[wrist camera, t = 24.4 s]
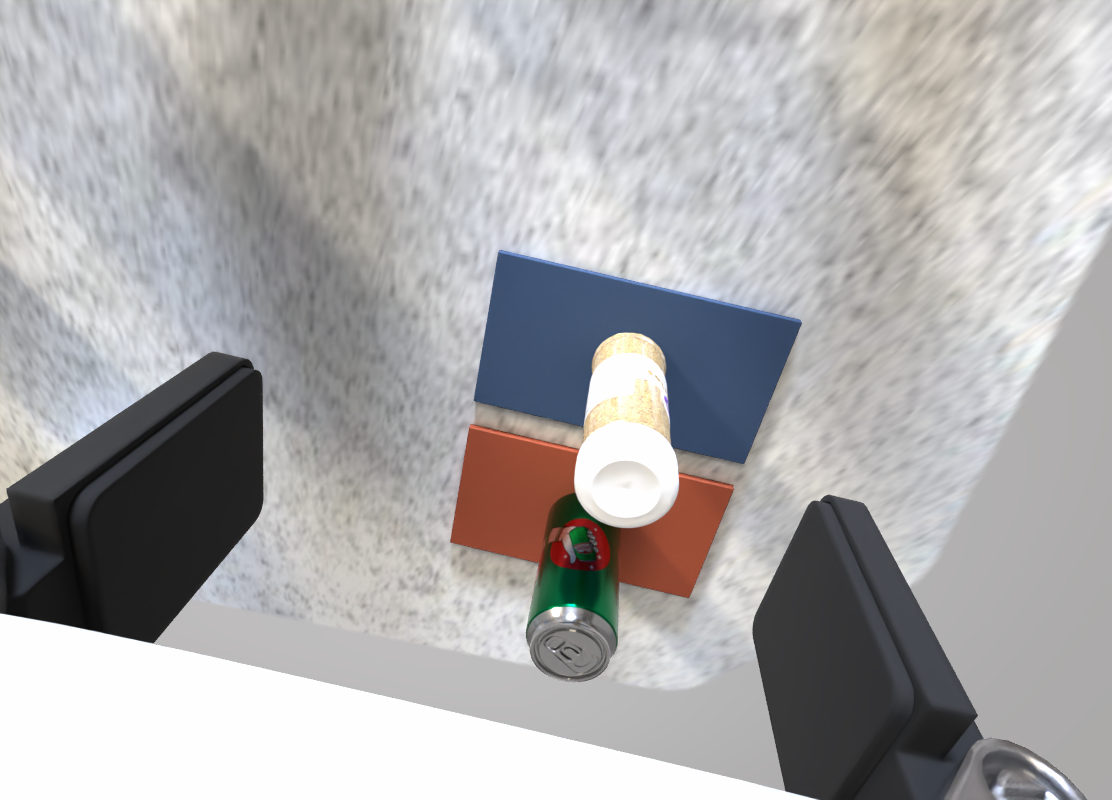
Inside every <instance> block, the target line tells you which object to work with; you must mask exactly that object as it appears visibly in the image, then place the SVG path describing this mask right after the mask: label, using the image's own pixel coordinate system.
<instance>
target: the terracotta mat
mask: <svg viewBox="0 0 1112 800" xmlns="http://www.w3.org/2000/svg"><path fill="white" fill-rule="evenodd" d="M579 450H580V449H575V448H571V447H567V446H563V445H558V444H554V443H550V442H545V441H541V440H537V439H533V438H528V437H524V436H520V435H515V434H511V433H507V432H503V431H498V430H494V429H490V428H485V427H481V426H477V425H472V424H471V425H470V427H469V432H468V438H467V444H466V450H465V456H464V462H463V468H462V474H461V480H460V486H459V492H458V498H457V505H456V511H455V517H454V523H453V529H452V535H451V541H450V542H451V543H455V544H460V545H464V546H468V547H472V548H477V549H481V550H485V551H490V552H494V553H498V554H502V555H507V556H511V557H515V558H520V559H524V560H528V561H532V562H537V563H539V560H540V555H541V549H542V544H543V539H544V533H545V528H546V523H547V518H548V513H549V511H550V509H551V507H552V505H553V504H554V503H555V502H556V501H557V500H558V499H560V498H562V497H563V496H565V495H568V494H571V493H576V492H575V486H574V477H575V467H576V461H577V456H578V453H579ZM678 474H679V490H678V495H677V498H676V500H675V502H674V504H673V506H672V507H671V508H670V510H669V511H668V512H667V513H666V514H665V515H664V516H663V517H661V518H660V519H658V520H657V521H655V522H653V523H651V524H648V525H645V526H641V527H636V528H621V531H620V569H619V582H623V583H627V584H631V585H635V586H640V587H644V588H648V589H653V590H657V591H661V592H665V593H670V594H674V595H678V596H683V597H687V598H689V597H690V595H691V592H692V590H693V587H694V585H695V583H696V580H697V578H698V575H699V573H700V570H701V568H702V566H703V563H704V561H705V558H706V556H707V553H708V551H709V548H710V546H711V544H712V541H713V539H714V536H715V534H716V531H717V529H718V527H719V524H720V522H721V519H722V517H723V514H724V512H725V509H726V507H727V505H728V502H729V500H730V497H731V495H732V492H733V490H734V488H733V485H730V484H725V483H721V482H717V481H713V480H708V479H704V478H700V477H695V476H691V475H687V474H683V473H678Z"/></svg>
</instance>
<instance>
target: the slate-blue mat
mask: <svg viewBox="0 0 1112 800" xmlns="http://www.w3.org/2000/svg"><path fill="white" fill-rule="evenodd" d="M801 324H802V322H801V321H800V320H798V319H794V318H789V317H785V316H781V315H777V314H772V313H768V312H764V311H759V310H755V309H751V308H747V307H742V306H738V305H734V304H729V303H725V302H721V301H717V300H712V299H708V298H704V297H699V296H695V295H691V294H687V293H682V292H678V291H674V290H669V289H665V288H661V287H657V286H652V285H648V284H644V283H639V282H635V281H631V280H627V279H622V278H618V277H614V276H609V275H605V274H601V273H597V272H592V271H588V270H584V269H579V268H575V267H571V266H567V265H562V264H558V263H554V262H549V261H545V260H541V259H537V258H532V257H528V256H524V255H519V254H515V253H511V252H507V251H502V250H500V251H499V252H498V257H497V263H496V269H495V275H494V281H493V288H492V294H491V300H490V306H489V312H488V318H487V324H486V330H485V336H484V342H483V348H482V354H481V360H480V366H479V372H478V378H477V384H476V390H475V396H474V401H476V402H480V403H484V404H489V405H493V406H497V407H501V408H506V409H510V410H514V411H519V412H523V413H527V414H531V415H536V416H540V417H544V418H549V419H553V420H557V421H561V422H566V423H570V424H574V425H579V426H583V427H584V421H585V413H586V406H587V399H588V393H589V386H590V381H591V377H592V374H593V373H592V361H593V357H594V354H595V352H596V349H597V348H598V347H599V346H600V345H601V343H602V342H604V341H605V340H607V339H608V338H609V337H612V336H614V335H616V334H618V333H636V334H642V335H644V336H646V337H648V338H650V339H651V340H653V341H654V342H655V343H656V344H657V345H658V346H659V347H660V349H661V350H662V352H663V354H664V356H665V362H666V373H665V379H666V383H667V393H668V408H669V418H670V439H671V447H673V448H677V449H681V450H686V451H690V452H694V453H699V454H703V455H707V456H711V457H716V458H720V459H724V460H729V461H733V462H737V463H741V464H744V463H745V461H746V458H747V456H748V453H749V451H750V448H751V446H752V444H753V441H754V439H755V436H756V434H757V431H758V429H759V426H760V424H761V422H762V419H763V417H764V414H765V412H766V409H767V407H768V405H769V402H770V400H771V397H772V395H773V392H774V390H775V387H776V385H777V383H778V380H779V378H780V375H781V373H782V370H783V368H784V366H785V363H786V361H787V358H788V356H789V353H790V351H791V348H792V346H793V344H794V341H795V339H796V336H797V334H798V331H799V329H800V327H801Z"/></svg>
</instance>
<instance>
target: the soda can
mask: <svg viewBox="0 0 1112 800" xmlns="http://www.w3.org/2000/svg"><path fill="white" fill-rule="evenodd" d="M620 531H621V528H619V527H614V526H610V525H607V524H605V523H602V522H600V521H598V520H597V519H595V518H594V517H592V516H591V515H590V514H589V513H588V512H587V511H586V510H585V509H584V508H583V506H582V505H581V503H580V502H579V500H578V498H577V495H576V493H571V494H568V495H565V496H563V497H562V498H560V499H558V500H557V501H556V502H555V503H554V504H553V505H552V507H551V509H550V511H549V513H548V518H547V523H546V528H545V533H544V539H543V544H542V549H541V555H540V560H539V565H538V570H537V576H536V581H535V586H534V592H533V597H532V602H531V607H530V613H529V618H528V623H527V629H526V639H527V643H528V645H529V647H530V654H531V658H532V660H533V662H534V664H535V665H536V666H537V667H538V668H539V669H540V670H541V671H542V672H543V673H545V674H546V675H548V676H550V677H552V678H555V679H558V680H561V681H566V682H582V681H587V680H590V679H593V678H595V677H597V676H599V675H600V674H601V673H602V672H603V671H604V670H605V669H606V668H607V666H608V664H609V661H610V658H611V657H612V656H613V655H614V653H615V651H616V648H617V644H618V607H619V569H620Z"/></svg>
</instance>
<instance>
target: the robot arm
mask: <svg viewBox="0 0 1112 800" xmlns="http://www.w3.org/2000/svg"><path fill="white" fill-rule="evenodd" d="M6 490H7V494H8V499H7V500H5V501H4V502H2V503H1V504H0V800H1087V799H1086V797H1085V796H1084V795H1083V794H1082V793H1081V792H1080V790H1079V789H1078V788H1077V787H1076V786H1075V785H1074V784H1073V783H1072V782H1071V781H1070V780H1069V779H1068V778H1067V777H1066V776H1065V775H1064V774H1063V773H1061V772H1060V771H1059V770H1058V769H1057V768H1055V767H1054V766H1053V765H1052V764H1050V763H1049V762H1048V761H1047V760H1045V759H1043V758H1042V757H1040V756H1038V755H1037V754H1035V753H1033V752H1032V751H1030V750H1029V749H1027V748H1025V747H1022V746H1020V745H1017V744H1015V743H1012V742H1010V741H1006V740H1001V739H995V738H987V739H983V737H982V735H981V733H980V731H979V729H978V727H977V725H976V723H975V722H974V720H975V719H976V717H977V716H978V715H977V713H976V711H975V709H974V708H973V705H972V704H971V702H970V700H969V698H968V696H967V694H966V692H965V690H964V689H963V687H962V685H961V683H960V681H959V679H958V678H957V675H956V673H955V672H954V670H953V668H952V666H951V664H950V662H949V660H948V659H947V657H946V655H945V653H944V651H943V650H942V647H941V645H940V644H939V642H938V640H937V638H936V636H935V634H934V632H933V631H932V629H931V627H930V625H929V623H928V621H927V619H926V617H925V615H924V614H923V612H922V610H921V608H920V606H919V604H918V603H917V600H916V599H915V597H914V595H913V593H912V591H911V589H910V587H909V586H908V584H907V582H906V580H905V578H904V576H903V574H902V572H901V571H900V569H899V567H898V565H897V563H896V561H895V559H894V557H893V556H892V554H891V552H890V550H889V548H888V546H887V544H886V542H885V541H884V539H883V537H882V535H881V533H880V531H879V529H878V527H877V526H876V524H875V522H874V520H873V518H872V516H871V514H870V512H869V511H868V509H867V507H866V506H865V505H864V503H861V502H857V501H853V500H849V499H844V498H840V497H836V496H832V495H826V496H824V497H823V498H822V499H821V501H820V502H819V501H812V502H811V503H810V504H809V505H808V507H807V509H806V511H805V513H804V515H803V517H802V519H801V521H800V523H799V526H798V528H797V530H796V532H795V534H794V536H793V538H792V540H791V542H790V544H789V546H788V548H787V550H786V552H785V554H784V557H783V559H782V561H781V563H780V565H779V567H778V569H777V571H776V573H775V575H774V577H773V579H772V581H771V583H770V585H769V588H768V590H767V592H766V594H765V596H764V598H763V600H762V602H761V604H760V606H759V608H758V610H757V612H756V615H755V617H754V622H753V640H754V644H755V649H756V654H757V659H758V663H759V668H760V673H761V677H762V682H763V687H764V692H765V696H766V701H767V706H768V711H769V715H770V720H771V725H772V730H773V734H774V738H775V744H776V748H777V753H778V757H779V762H780V767H781V772H782V776H783V781H784V786H785V791H786V792H785V791H781V790H777V789H774V788H769V787H766V786H762V785H758V784H754V783H750V782H746V781H742V780H738V779H734V778H729V777H725V776H721V775H717V774H713V773H708V772H704V771H700V770H696V769H692V768H688V767H684V766H679V765H675V764H671V763H667V762H663V761H658V760H654V759H650V758H645V757H642V756H637V755H633V754H629V753H624V752H621V751H616V750H612V749H608V748H603V747H600V746H596V745H591V744H587V743H583V742H579V741H575V740H571V739H566V738H562V737H558V736H553V735H549V734H545V733H541V732H536V731H531V730H528V729H523V728H519V727H515V726H511V725H506V724H502V723H497V722H494V721H489V720H485V719H481V718H477V717H472V716H468V715H464V714H459V713H454V712H451V711H446V710H442V709H438V708H434V707H429V706H425V705H421V704H416V703H412V702H408V701H403V700H399V699H394V698H390V697H386V696H382V695H377V694H373V693H369V692H364V691H360V690H356V689H352V688H347V687H342V686H338V685H334V684H329V683H325V682H321V681H316V680H312V679H308V678H303V677H299V676H294V675H290V674H285V673H281V672H277V671H272V670H268V669H263V668H259V667H254V666H250V665H246V664H241V663H237V662H233V661H228V660H224V659H219V658H215V657H211V656H206V655H202V654H197V653H193V652H188V651H184V650H179V649H175V648H170V647H166V646H161V645H157V644H153V643H154V642H155V641H156V640H157V639H158V637H159V636H160V635H161V634H162V633H163V631H164V630H165V629H166V628H167V627H168V626H169V624H170V623H171V622H172V621H173V619H174V618H175V617H176V616H177V615H178V614H179V612H180V611H181V610H182V609H183V608H184V606H185V605H186V604H187V603H188V602H189V600H190V599H191V598H192V597H193V596H194V594H195V593H196V592H197V591H198V590H199V588H200V587H201V586H202V585H203V584H204V582H205V581H206V580H207V579H208V578H209V576H210V575H211V574H212V573H213V572H214V570H215V569H216V568H217V567H218V566H219V564H220V563H221V562H222V561H223V560H224V558H225V557H226V556H227V555H228V554H229V552H230V551H231V550H232V549H233V548H234V546H235V545H236V544H237V543H238V542H239V540H240V539H241V538H242V537H243V536H244V534H245V533H246V532H247V531H248V530H249V528H250V527H251V526H252V525H253V524H254V522H255V521H256V520H257V518H258V516H259V514H260V512H261V509H262V505H263V384H262V375H261V373H260V372H259V371H258V370H254V367H253V365H252V362H251V361H250V360H248V359H244V358H240V357H236V356H231V355H227V354H223V353H218V352H211V353H209V354H207V355H206V356H204V357H203V358H201V359H200V360H198V361H197V362H195V363H194V364H192V365H191V366H189V367H188V368H186V369H185V370H183V371H182V372H180V373H179V374H177V375H176V376H174V377H173V378H171V379H170V380H168V381H167V382H165V383H164V384H162V385H161V386H159V387H158V388H156V389H155V390H153V391H152V392H150V393H149V394H147V395H146V396H144V397H143V398H142V399H140V400H139V401H137V402H136V403H134V404H133V405H131V406H130V407H128V408H127V409H125V410H124V411H122V412H121V413H119V414H118V415H116V416H115V417H113V418H112V419H110V420H109V421H107V422H106V423H104V424H103V425H101V426H100V427H98V428H97V429H95V430H94V431H92V432H91V433H89V434H88V435H86V436H85V437H83V438H82V439H80V440H79V441H77V442H76V443H74V444H73V445H71V446H70V447H68V448H67V449H65V450H64V451H62V452H61V453H59V454H58V455H57V456H55V457H54V458H52V459H51V460H49V461H48V462H46V463H45V464H43V465H42V466H40V467H39V468H37V469H36V470H34V471H33V472H31V473H30V474H28V475H27V476H25V477H24V478H22V479H21V480H19V481H18V482H16V483H15V484H13V485H12V486H10V487H9V488H7V489H6Z"/></svg>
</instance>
